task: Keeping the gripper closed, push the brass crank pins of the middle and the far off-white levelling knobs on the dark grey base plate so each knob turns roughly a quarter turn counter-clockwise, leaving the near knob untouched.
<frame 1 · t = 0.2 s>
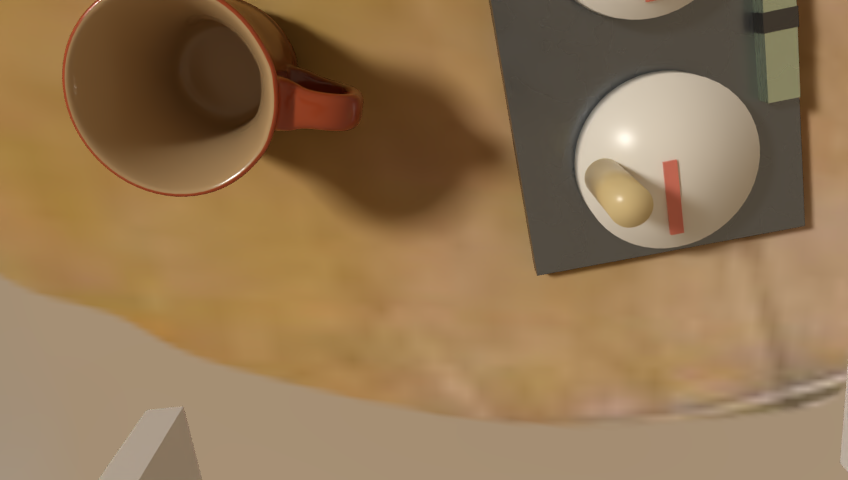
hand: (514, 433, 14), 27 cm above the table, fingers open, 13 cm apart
mug: (266, 73, 39), on the table
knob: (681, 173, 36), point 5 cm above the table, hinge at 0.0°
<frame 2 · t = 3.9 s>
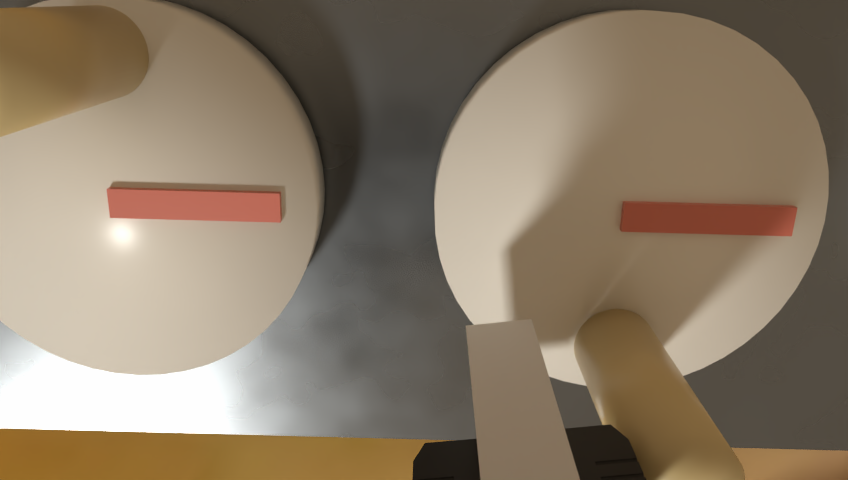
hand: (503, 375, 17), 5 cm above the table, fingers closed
base plate: (601, 183, 20), on the table
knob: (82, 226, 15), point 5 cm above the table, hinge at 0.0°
knob middle: (654, 242, 15), point 5 cm above the table, hinge at 0.0°, touching gripper
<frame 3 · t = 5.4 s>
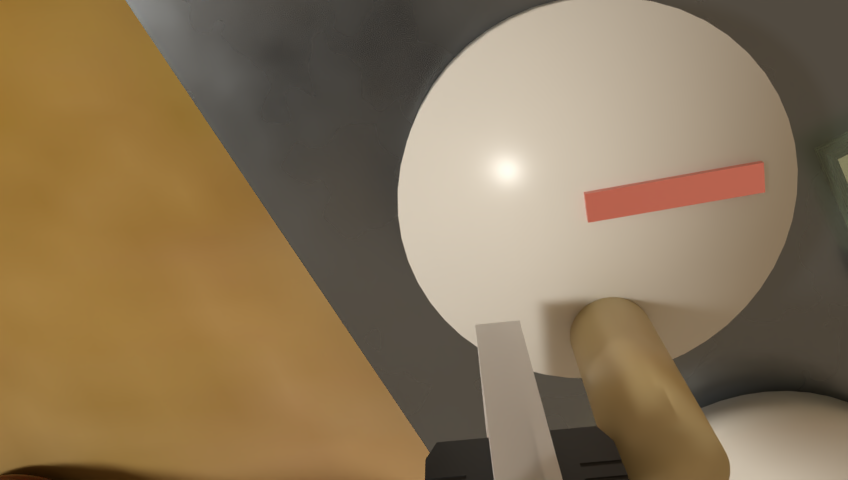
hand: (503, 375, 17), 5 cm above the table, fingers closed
base plate: (574, 173, 20), on the table
knob middle: (610, 231, 15), point 5 cm above the table, hinge at 71.1°, touching gripper
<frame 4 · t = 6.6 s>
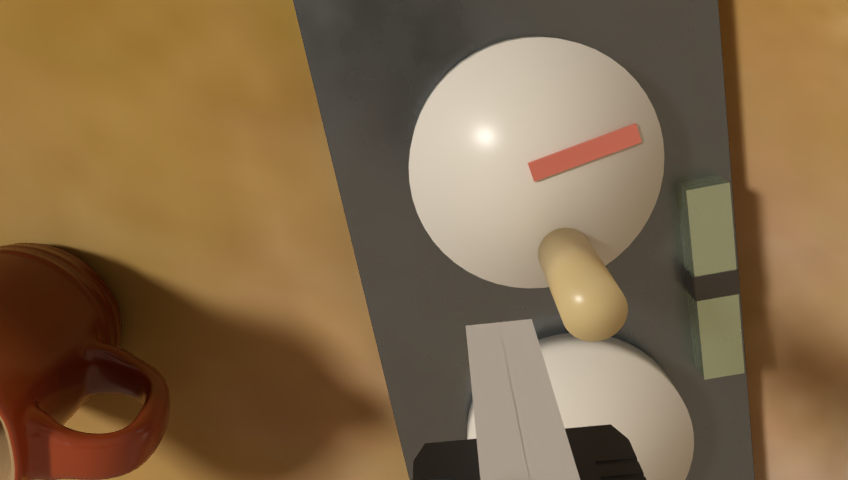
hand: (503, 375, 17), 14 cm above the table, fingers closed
mug: (87, 317, 32), on the table
base plate: (526, 153, 29), on the table
knob middle: (543, 182, 24), point 5 cm above the table, hinge at 99.7°
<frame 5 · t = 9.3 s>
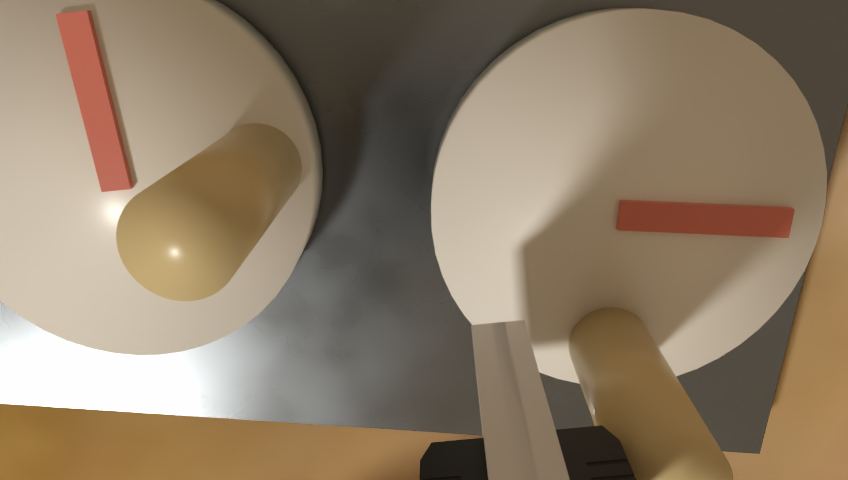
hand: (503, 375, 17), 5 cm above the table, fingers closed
base plate: (163, 153, 20), on the table
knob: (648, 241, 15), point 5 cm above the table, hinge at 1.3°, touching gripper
knob middle: (78, 203, 15), point 5 cm above the table, hinge at 99.7°
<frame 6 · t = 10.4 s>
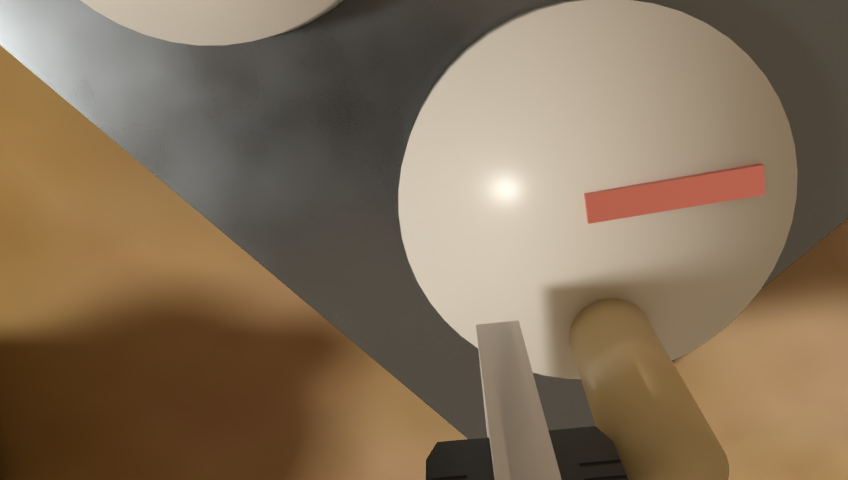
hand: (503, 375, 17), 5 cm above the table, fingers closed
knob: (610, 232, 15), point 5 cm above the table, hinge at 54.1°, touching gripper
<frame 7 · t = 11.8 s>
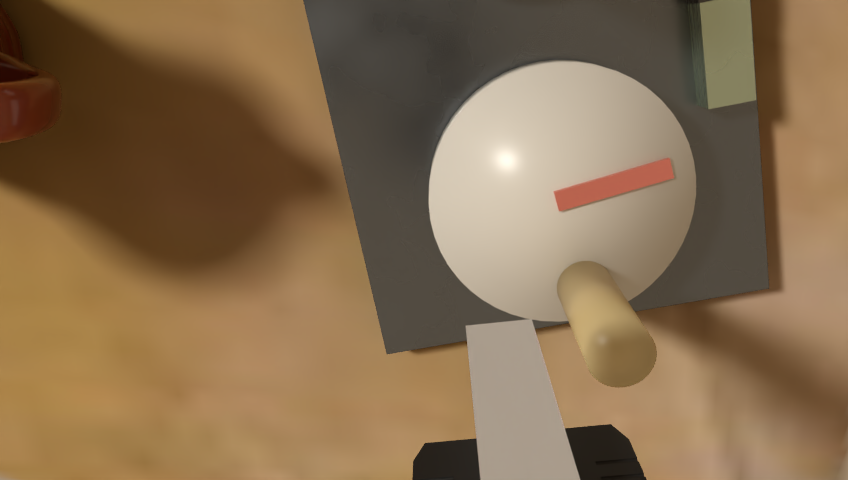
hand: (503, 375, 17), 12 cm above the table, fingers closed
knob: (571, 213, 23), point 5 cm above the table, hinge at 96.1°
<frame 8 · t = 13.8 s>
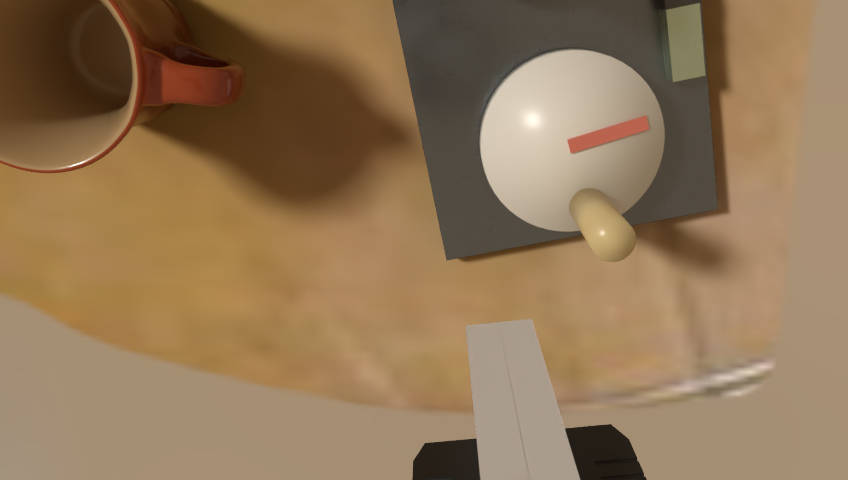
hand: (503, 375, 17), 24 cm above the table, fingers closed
mug: (164, 51, 38), on the table
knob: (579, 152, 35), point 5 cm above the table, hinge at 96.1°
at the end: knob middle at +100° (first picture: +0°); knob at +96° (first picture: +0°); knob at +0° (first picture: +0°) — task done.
